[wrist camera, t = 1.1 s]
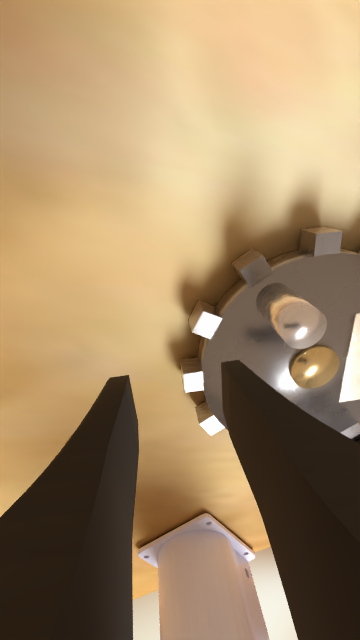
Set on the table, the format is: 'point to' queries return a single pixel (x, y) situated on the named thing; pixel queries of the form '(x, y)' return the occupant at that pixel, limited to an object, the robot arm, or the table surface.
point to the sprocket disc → (286, 332)
